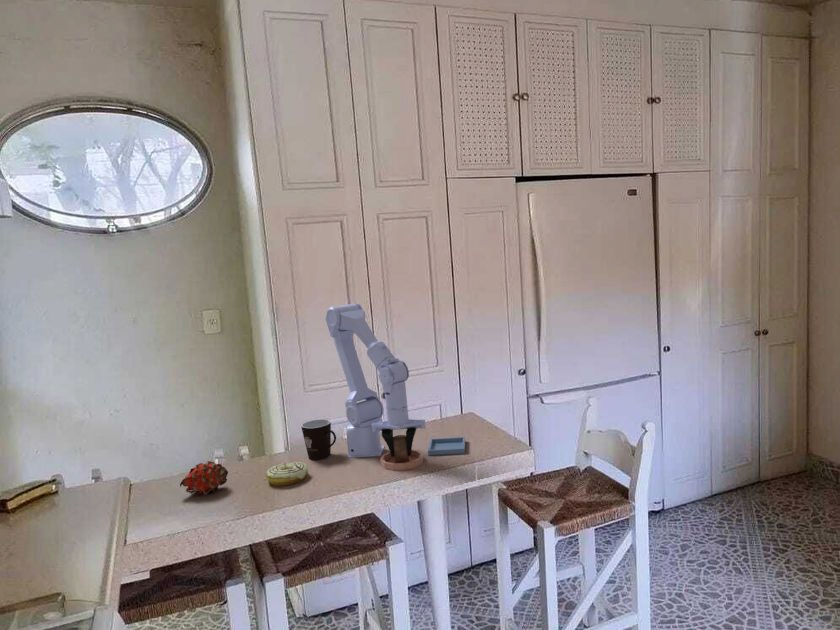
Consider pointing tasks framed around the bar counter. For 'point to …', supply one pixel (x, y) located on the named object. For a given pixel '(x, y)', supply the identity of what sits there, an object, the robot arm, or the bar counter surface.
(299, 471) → the decorated donut
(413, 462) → the terracotta bowl
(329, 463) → the bar counter surface
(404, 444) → the walnut cylinder
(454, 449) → the slate tray
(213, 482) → the dragon fruit
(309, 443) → the coffee mug
